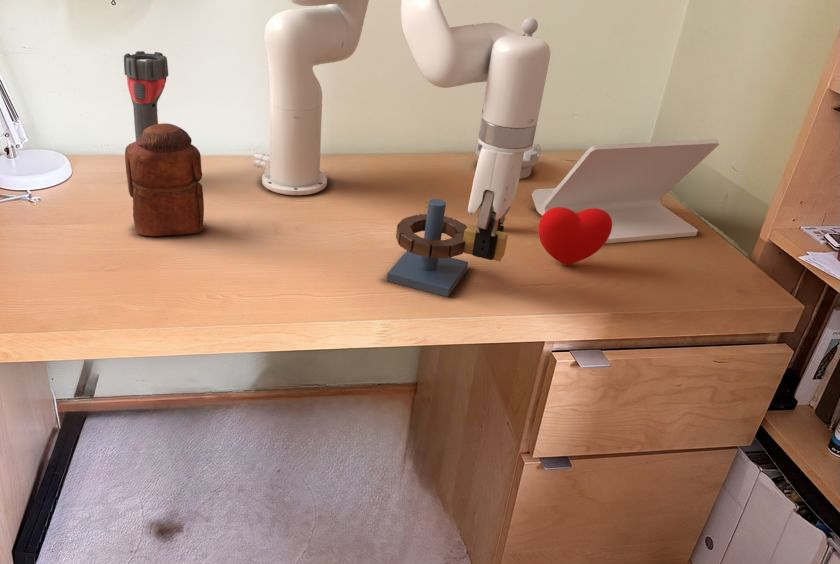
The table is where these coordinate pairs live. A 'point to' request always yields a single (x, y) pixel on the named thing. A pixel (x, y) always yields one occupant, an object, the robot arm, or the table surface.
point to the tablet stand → (629, 186)
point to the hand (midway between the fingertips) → (486, 251)
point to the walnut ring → (443, 248)
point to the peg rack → (429, 261)
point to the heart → (574, 233)
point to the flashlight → (145, 86)
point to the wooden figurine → (165, 182)
